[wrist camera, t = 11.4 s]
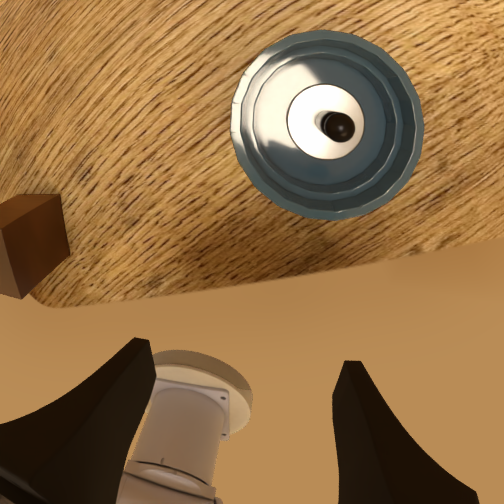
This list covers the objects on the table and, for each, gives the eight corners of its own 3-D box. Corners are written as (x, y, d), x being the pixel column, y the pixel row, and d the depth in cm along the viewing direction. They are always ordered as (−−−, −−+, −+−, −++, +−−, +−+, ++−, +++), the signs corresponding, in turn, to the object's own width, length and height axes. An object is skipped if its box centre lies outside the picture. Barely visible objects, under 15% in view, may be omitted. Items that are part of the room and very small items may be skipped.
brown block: (70, 254, 22) (21, 299, 16) (29, 249, 22) (-19, 288, 17) (59, 194, 20) (1, 228, 14) (17, 194, 20) (-38, 225, 14)
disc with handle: (354, 159, 17) (386, 187, 11) (283, 151, 17) (283, 175, 12) (361, 90, 15) (398, 86, 10) (288, 81, 15) (291, 69, 10)
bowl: (384, 204, 18) (406, 229, 15) (238, 189, 19) (227, 211, 15) (402, 60, 14) (430, 52, 11) (245, 40, 15) (235, 23, 11)
